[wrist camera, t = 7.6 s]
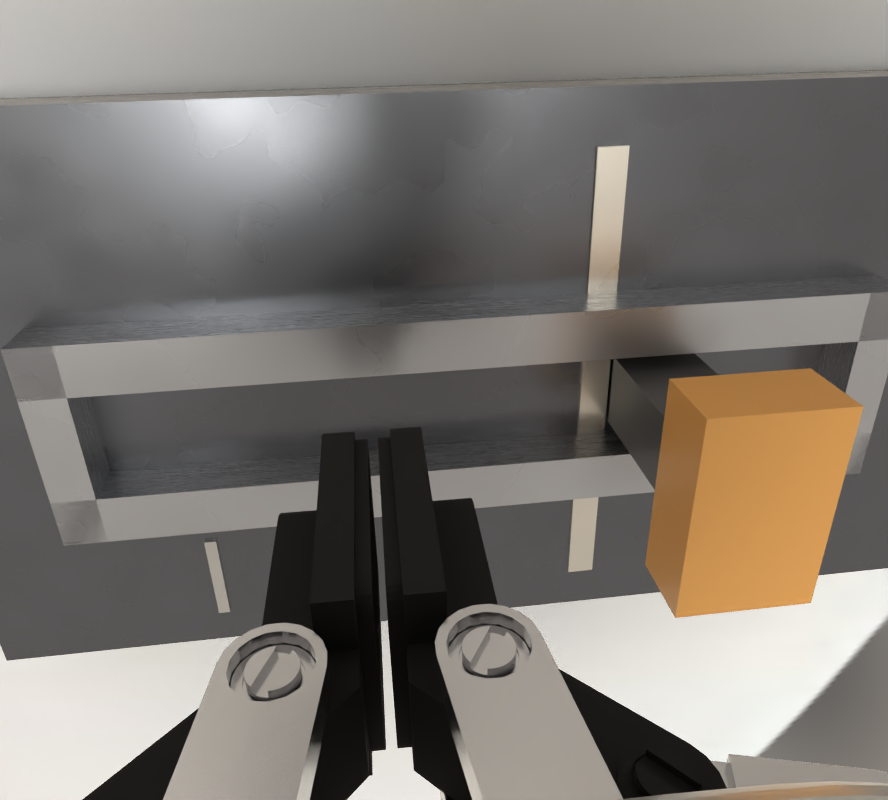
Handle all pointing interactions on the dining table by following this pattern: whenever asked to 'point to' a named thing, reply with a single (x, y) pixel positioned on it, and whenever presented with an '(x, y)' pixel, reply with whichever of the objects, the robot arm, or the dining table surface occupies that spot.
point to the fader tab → (734, 477)
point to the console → (405, 321)
